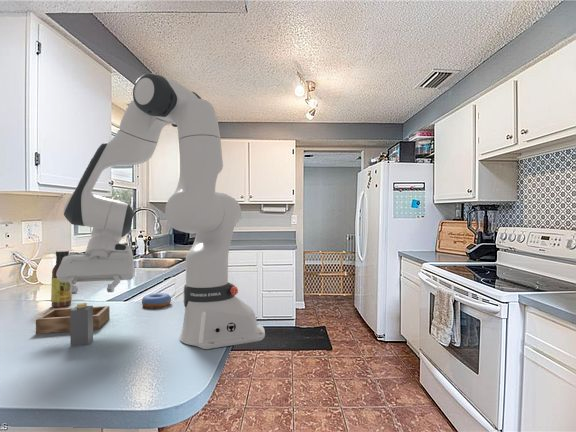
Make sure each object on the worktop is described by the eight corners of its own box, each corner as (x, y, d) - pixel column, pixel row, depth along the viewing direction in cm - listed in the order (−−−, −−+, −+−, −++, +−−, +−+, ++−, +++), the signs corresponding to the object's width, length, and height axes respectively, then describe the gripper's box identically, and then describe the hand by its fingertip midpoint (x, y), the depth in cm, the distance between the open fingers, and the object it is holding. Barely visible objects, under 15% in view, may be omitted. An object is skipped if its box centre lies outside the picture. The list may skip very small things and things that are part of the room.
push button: (93, 339, 93) (92, 301, 93) (88, 345, 89) (87, 305, 89) (76, 340, 92) (76, 302, 92) (70, 346, 88) (70, 306, 88)
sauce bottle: (61, 308, 124) (61, 252, 124) (46, 307, 126) (46, 251, 125) (76, 303, 131) (75, 250, 131) (62, 302, 132) (61, 250, 132)
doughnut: (156, 309, 121) (157, 296, 121) (135, 308, 125) (135, 295, 125) (176, 305, 130) (176, 293, 131) (156, 304, 134) (156, 292, 134)
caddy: (109, 318, 112) (109, 305, 112) (98, 329, 101) (98, 315, 101) (53, 322, 108) (53, 309, 108) (35, 333, 98) (35, 319, 98)
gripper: (61, 247, 103) (46, 287, 94) (135, 245, 108) (128, 283, 98) (67, 260, 108) (53, 300, 98) (138, 258, 112) (132, 296, 103)
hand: (91, 292), depth 98 cm, fingers open, 8 cm apart
